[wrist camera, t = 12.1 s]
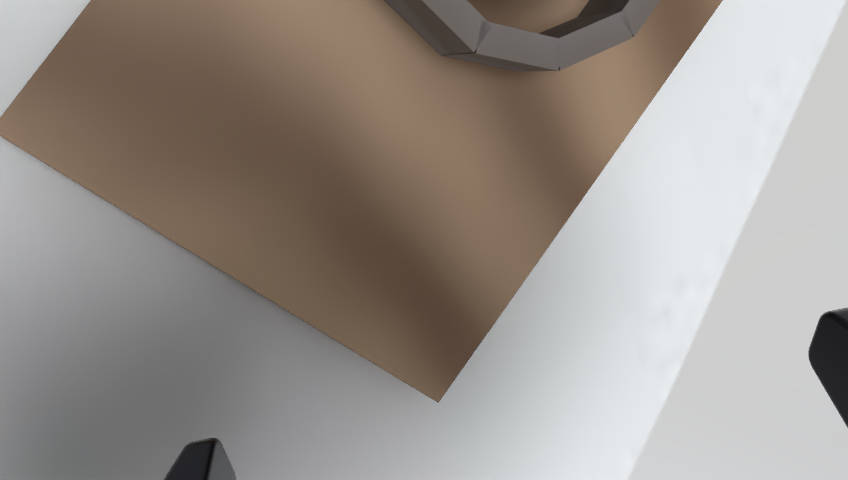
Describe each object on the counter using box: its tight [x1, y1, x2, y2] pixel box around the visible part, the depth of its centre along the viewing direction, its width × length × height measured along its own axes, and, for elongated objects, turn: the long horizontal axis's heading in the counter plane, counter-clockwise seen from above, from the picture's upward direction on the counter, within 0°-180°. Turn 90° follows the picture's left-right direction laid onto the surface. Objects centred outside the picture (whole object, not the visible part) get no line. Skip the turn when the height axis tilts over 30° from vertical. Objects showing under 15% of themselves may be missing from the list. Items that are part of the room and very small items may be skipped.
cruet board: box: [0, 0, 722, 402], centre depth 17 cm, size 18×14×3 cm
